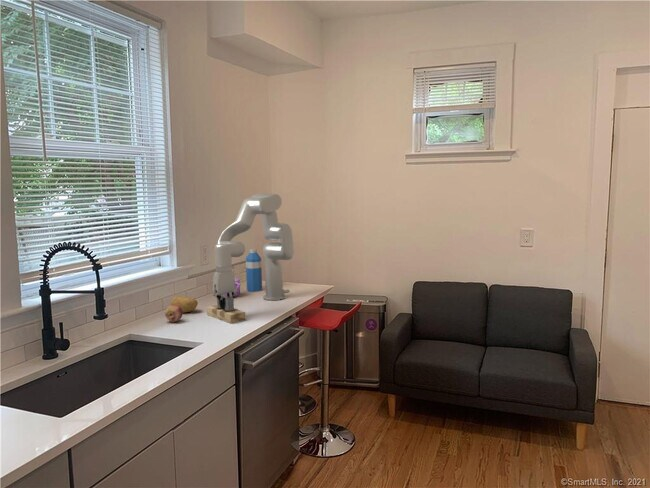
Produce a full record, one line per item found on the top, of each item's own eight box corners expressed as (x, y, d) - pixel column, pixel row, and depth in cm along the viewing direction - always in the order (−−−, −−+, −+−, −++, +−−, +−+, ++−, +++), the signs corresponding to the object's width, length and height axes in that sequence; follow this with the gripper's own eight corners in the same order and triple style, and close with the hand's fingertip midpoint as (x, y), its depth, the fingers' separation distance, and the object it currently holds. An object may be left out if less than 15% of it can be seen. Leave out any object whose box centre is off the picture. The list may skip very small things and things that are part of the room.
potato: (190, 315, 243) (190, 299, 242) (167, 313, 248) (166, 297, 247) (202, 311, 252) (201, 295, 251) (180, 308, 257) (179, 293, 256)
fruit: (162, 322, 232) (161, 305, 231) (177, 318, 238) (176, 302, 237) (171, 325, 227) (170, 307, 226) (186, 321, 233) (185, 304, 232)
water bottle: (261, 291, 296) (259, 250, 293) (245, 291, 296) (244, 250, 293) (263, 288, 305) (261, 248, 302) (248, 288, 305) (246, 248, 303)
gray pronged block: (217, 311, 241) (216, 295, 240) (223, 310, 243) (222, 294, 242) (228, 315, 234) (227, 298, 233) (234, 314, 236) (233, 297, 235)
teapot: (243, 298, 278) (242, 279, 277) (219, 301, 274) (218, 281, 272) (238, 293, 292) (237, 275, 291) (215, 295, 288) (214, 277, 287)
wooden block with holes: (221, 311, 249) (220, 304, 249) (245, 320, 233) (245, 311, 233) (207, 314, 244) (206, 307, 243) (230, 323, 228) (230, 315, 227)
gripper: (234, 266, 244) (235, 302, 246) (204, 270, 233) (206, 308, 235) (242, 268, 238) (244, 305, 241) (212, 272, 228) (214, 311, 230)
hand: (225, 306), depth 238 cm, fingers closed on gray pronged block, 3 cm apart
